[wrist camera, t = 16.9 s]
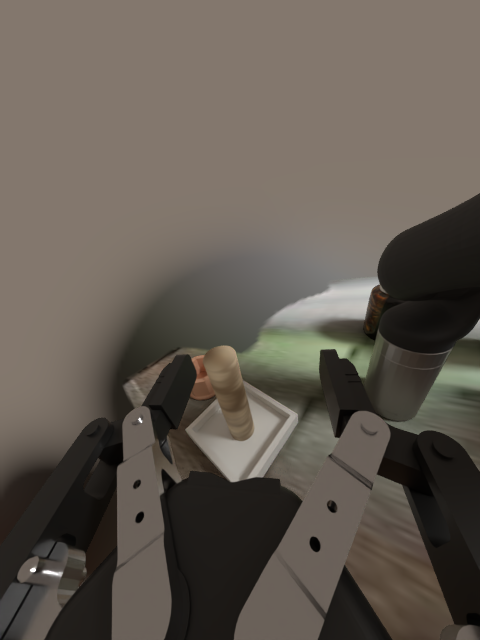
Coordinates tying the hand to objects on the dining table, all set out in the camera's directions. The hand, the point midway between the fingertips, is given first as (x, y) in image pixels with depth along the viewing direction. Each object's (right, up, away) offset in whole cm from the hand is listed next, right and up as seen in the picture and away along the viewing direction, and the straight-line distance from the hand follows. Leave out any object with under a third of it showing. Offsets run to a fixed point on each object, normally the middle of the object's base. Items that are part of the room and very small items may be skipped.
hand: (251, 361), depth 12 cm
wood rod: (0, -19, +28) cm, 34 cm away
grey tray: (0, -20, +29) cm, 35 cm away
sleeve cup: (-10, -14, +40) cm, 44 cm away
